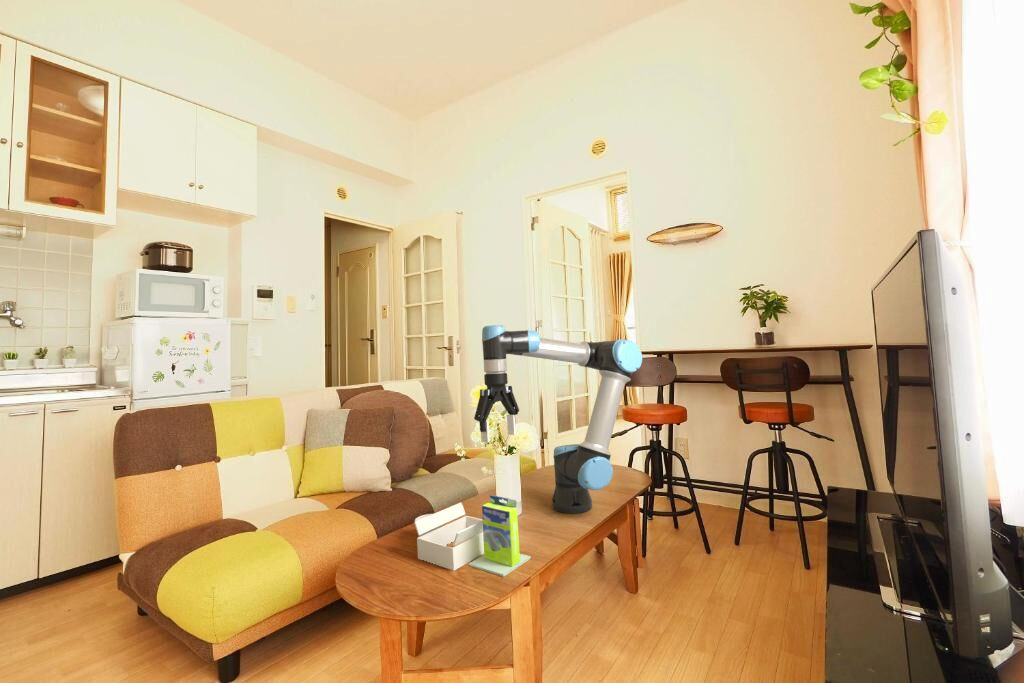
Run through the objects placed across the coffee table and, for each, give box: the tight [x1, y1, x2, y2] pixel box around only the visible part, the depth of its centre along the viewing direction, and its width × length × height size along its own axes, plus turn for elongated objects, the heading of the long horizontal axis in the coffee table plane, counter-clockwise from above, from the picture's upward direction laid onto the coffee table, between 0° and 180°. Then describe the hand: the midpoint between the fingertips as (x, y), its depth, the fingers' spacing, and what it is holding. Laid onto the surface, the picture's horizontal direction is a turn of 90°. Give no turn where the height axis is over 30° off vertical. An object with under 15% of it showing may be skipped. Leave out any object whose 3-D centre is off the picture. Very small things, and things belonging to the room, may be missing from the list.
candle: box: [414, 513, 443, 537], centre depth 152 cm, size 9×9×6 cm
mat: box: [468, 553, 532, 578], centre depth 131 cm, size 12×12×1 cm
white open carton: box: [416, 515, 484, 572], centre depth 140 cm, size 21×15×6 cm
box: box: [481, 494, 521, 567], centre depth 131 cm, size 10×4×17 cm, turn 52°
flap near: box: [452, 520, 483, 547], centre depth 136 cm, size 20×1×4 cm, turn 143°
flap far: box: [413, 502, 466, 536], centre depth 145 cm, size 20×1×4 cm, turn 143°
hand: (499, 438), depth 150 cm, fingers open, 13 cm apart
